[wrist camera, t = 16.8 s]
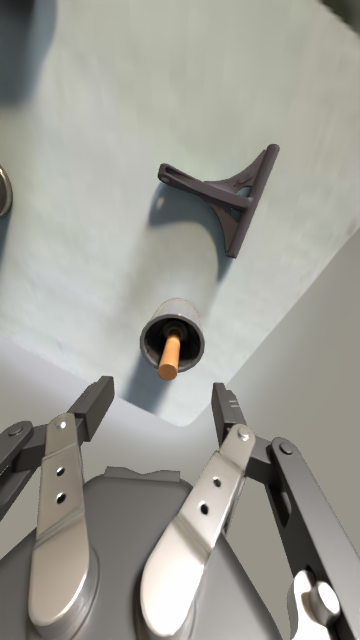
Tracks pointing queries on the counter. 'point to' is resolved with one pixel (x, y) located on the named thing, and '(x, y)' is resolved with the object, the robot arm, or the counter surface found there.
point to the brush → (172, 347)
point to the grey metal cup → (155, 340)
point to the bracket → (228, 194)
